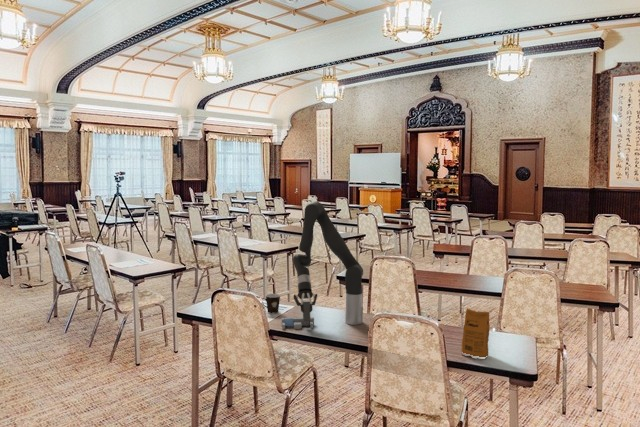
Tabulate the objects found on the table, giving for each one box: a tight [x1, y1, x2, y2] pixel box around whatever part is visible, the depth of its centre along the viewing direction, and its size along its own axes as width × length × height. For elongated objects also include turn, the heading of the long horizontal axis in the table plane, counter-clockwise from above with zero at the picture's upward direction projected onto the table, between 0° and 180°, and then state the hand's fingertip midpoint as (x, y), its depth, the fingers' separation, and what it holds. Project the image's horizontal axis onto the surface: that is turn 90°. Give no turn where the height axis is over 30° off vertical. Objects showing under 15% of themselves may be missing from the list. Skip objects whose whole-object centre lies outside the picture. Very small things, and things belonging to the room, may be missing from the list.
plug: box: [302, 298, 311, 322], centre depth 266 cm, size 4×4×12 cm
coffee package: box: [461, 308, 490, 357], centre depth 229 cm, size 10×12×22 cm
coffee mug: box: [261, 293, 281, 314], centre depth 295 cm, size 12×9×10 cm
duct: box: [280, 316, 315, 330], centre depth 268 cm, size 18×7×4 cm, turn 98°
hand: (306, 311), depth 264 cm, fingers closed on plug, 3 cm apart
